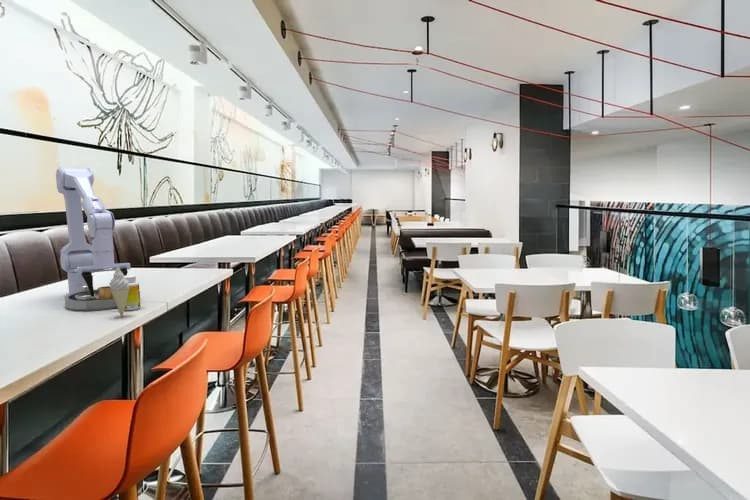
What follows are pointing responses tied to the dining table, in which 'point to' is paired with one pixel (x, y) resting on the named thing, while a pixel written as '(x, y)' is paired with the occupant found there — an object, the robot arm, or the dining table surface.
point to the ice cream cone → (119, 289)
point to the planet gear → (104, 293)
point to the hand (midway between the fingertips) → (106, 294)
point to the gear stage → (87, 301)
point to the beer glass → (132, 294)
